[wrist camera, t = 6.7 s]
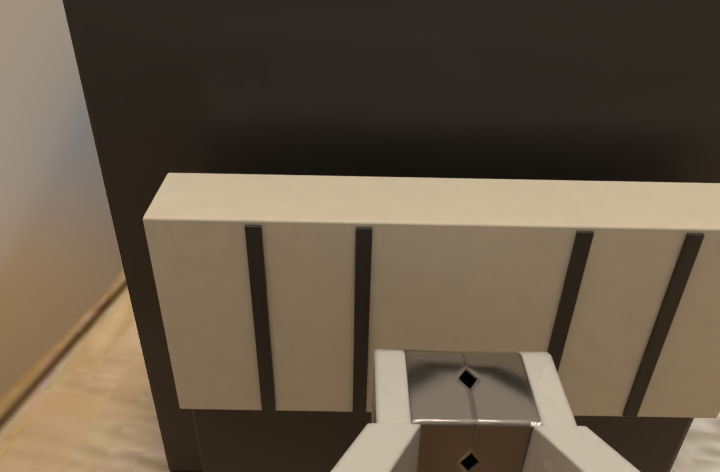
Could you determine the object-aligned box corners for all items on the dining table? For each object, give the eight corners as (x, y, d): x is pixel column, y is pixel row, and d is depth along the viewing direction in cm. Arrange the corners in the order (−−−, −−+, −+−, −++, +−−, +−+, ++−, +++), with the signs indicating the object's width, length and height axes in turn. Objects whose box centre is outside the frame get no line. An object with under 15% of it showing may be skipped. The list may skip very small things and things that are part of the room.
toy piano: (701, 554, 18) (994, 25, 10) (146, 546, 18) (-10, 4, 10) (605, 344, 26) (729, -61, 18) (209, 337, 26) (148, -73, 17)
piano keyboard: (718, 421, 14) (809, 232, 11) (178, 412, 14) (139, 220, 11) (683, 361, 16) (756, 183, 13) (197, 353, 16) (167, 172, 13)
